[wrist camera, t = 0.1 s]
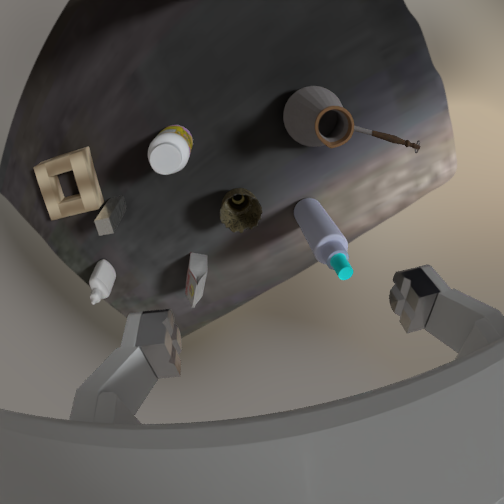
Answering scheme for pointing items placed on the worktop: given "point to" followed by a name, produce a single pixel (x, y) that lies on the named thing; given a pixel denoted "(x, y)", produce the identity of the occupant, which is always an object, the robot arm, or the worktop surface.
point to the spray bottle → (323, 236)
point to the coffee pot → (325, 120)
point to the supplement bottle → (170, 149)
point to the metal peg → (110, 215)
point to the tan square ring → (84, 177)
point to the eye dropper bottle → (101, 281)
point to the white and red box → (196, 277)
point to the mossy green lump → (240, 210)
